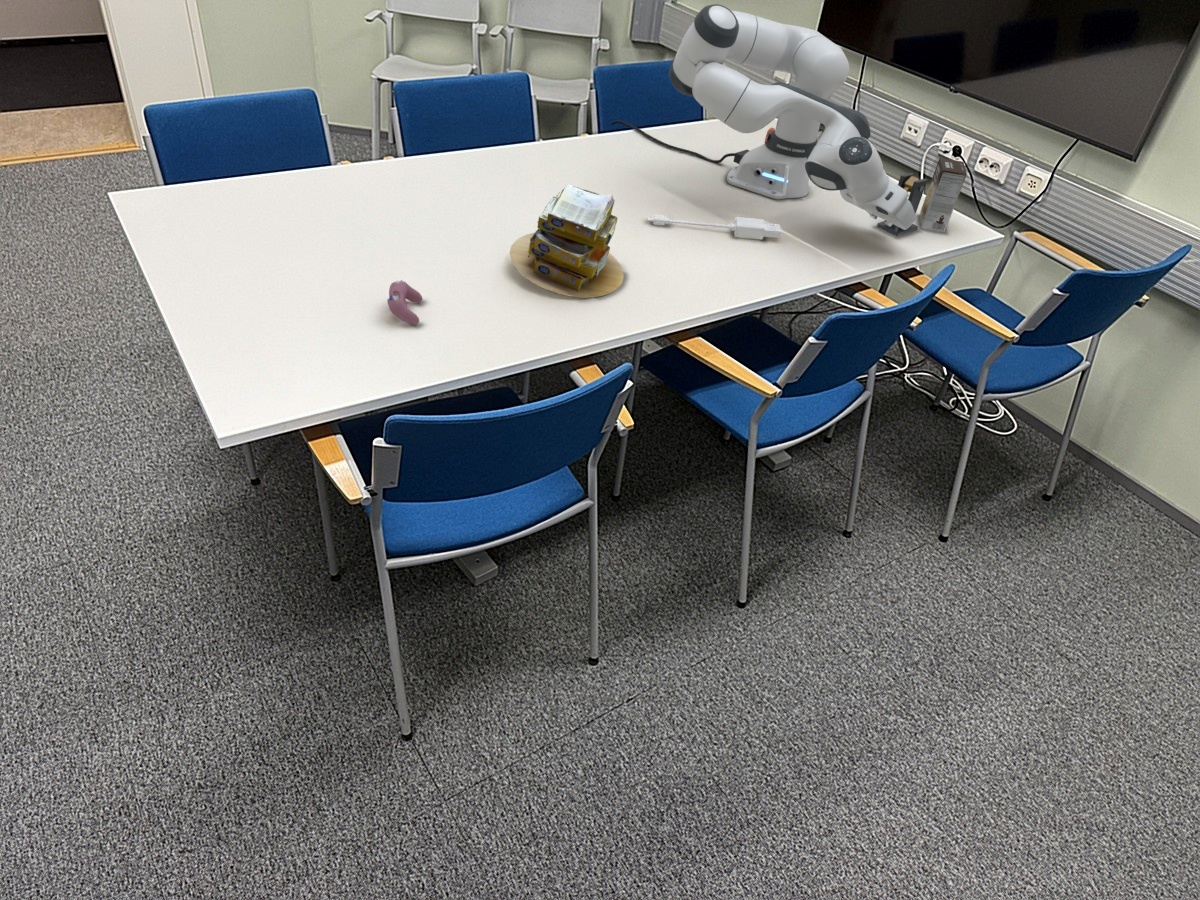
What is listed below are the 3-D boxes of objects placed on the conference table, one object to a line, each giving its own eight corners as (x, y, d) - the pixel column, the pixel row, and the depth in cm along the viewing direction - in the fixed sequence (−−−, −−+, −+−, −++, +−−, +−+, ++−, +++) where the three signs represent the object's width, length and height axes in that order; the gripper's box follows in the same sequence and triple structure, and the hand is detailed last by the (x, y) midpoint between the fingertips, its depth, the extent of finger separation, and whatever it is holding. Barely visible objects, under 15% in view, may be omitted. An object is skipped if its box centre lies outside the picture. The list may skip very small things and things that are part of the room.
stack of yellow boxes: (642, 268, 194) (653, 196, 184) (587, 312, 177) (595, 235, 166) (548, 235, 202) (554, 164, 192) (486, 274, 185) (488, 198, 174)
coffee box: (917, 215, 235) (938, 156, 225) (941, 219, 235) (963, 161, 225) (920, 229, 228) (942, 169, 218) (945, 233, 228) (968, 173, 218)
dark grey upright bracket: (896, 237, 222) (914, 185, 214) (876, 227, 226) (892, 175, 217) (917, 230, 227) (935, 179, 219) (896, 220, 231) (914, 169, 222)
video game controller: (404, 306, 174) (386, 277, 170) (424, 298, 173) (407, 269, 169) (399, 333, 166) (380, 303, 162) (420, 324, 166) (402, 294, 161)
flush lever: (886, 222, 218) (885, 212, 215) (875, 217, 220) (874, 207, 217) (921, 188, 220) (921, 178, 217) (910, 183, 222) (909, 173, 219)
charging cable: (647, 221, 216) (648, 208, 214) (777, 233, 216) (780, 220, 214) (646, 229, 212) (647, 216, 210) (779, 242, 212) (782, 229, 210)
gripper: (828, 183, 214) (842, 213, 226) (896, 216, 203) (907, 246, 214) (844, 162, 214) (858, 194, 225) (913, 194, 202) (924, 225, 214)
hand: (882, 219), depth 220 cm, fingers open, 3 cm apart
